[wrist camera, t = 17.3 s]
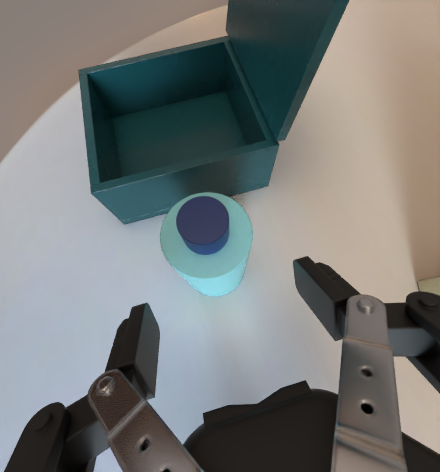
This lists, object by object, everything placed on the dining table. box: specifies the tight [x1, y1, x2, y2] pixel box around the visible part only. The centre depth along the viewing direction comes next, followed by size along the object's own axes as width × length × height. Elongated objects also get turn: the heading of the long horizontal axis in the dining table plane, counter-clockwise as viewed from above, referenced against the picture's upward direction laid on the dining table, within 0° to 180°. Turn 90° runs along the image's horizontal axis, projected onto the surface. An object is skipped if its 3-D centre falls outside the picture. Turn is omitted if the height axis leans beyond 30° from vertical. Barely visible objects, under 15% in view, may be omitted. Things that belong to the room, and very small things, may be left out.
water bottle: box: [160, 192, 253, 296], centre depth 18 cm, size 6×6×11 cm
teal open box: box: [78, 36, 279, 224], centre depth 25 cm, size 16×15×6 cm
